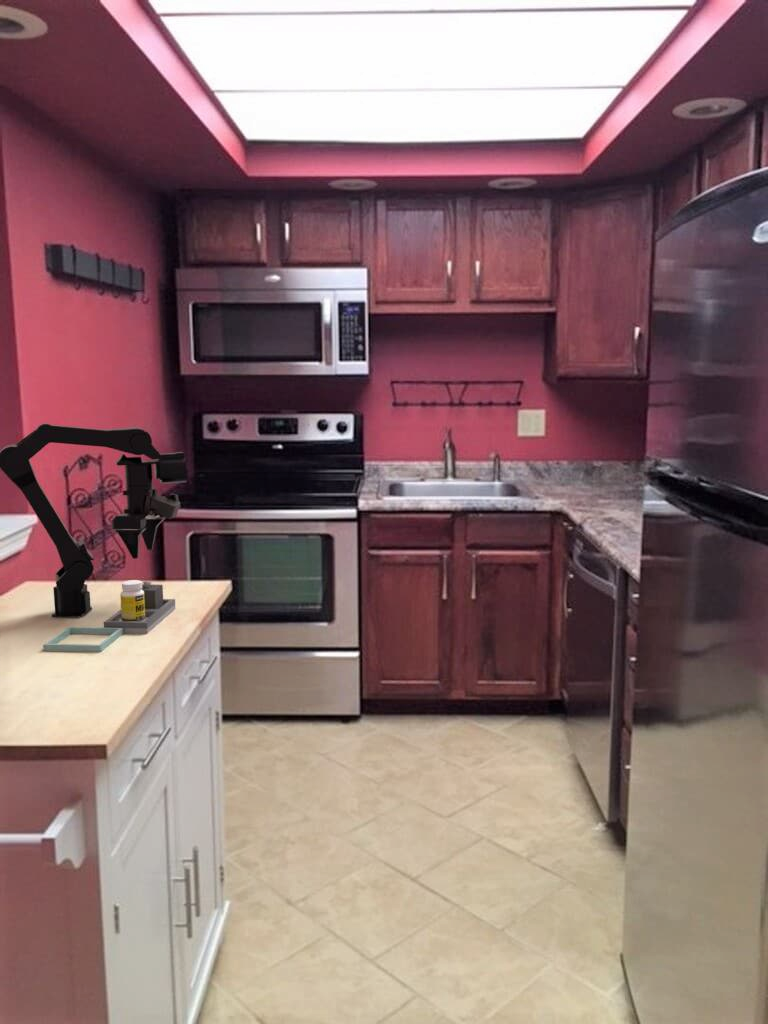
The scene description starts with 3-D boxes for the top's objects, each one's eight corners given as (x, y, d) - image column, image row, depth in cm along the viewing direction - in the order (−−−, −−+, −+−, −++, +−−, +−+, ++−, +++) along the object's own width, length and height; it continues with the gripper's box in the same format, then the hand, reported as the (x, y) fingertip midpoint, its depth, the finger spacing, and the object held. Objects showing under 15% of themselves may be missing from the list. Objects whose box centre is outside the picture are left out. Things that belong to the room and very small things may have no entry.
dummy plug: (133, 612, 181) (131, 584, 180) (141, 606, 186) (140, 579, 185) (156, 613, 180) (154, 585, 179) (163, 606, 185) (162, 579, 184)
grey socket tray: (104, 632, 170) (103, 622, 170) (136, 608, 188) (135, 598, 188) (147, 633, 170) (147, 622, 169) (175, 608, 187) (175, 599, 187)
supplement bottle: (138, 625, 172) (136, 585, 170) (117, 624, 172) (115, 584, 171) (149, 618, 176) (147, 579, 175) (128, 617, 177) (126, 578, 176)
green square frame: (43, 650, 159) (43, 644, 159) (69, 632, 170) (68, 626, 170) (101, 651, 159) (100, 645, 158) (123, 633, 170) (122, 627, 169)
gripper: (161, 490, 176) (164, 563, 178) (187, 479, 194) (190, 545, 196) (109, 490, 176) (113, 563, 179) (140, 479, 195) (144, 545, 197)
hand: (142, 553), depth 188 cm, fingers open, 9 cm apart
